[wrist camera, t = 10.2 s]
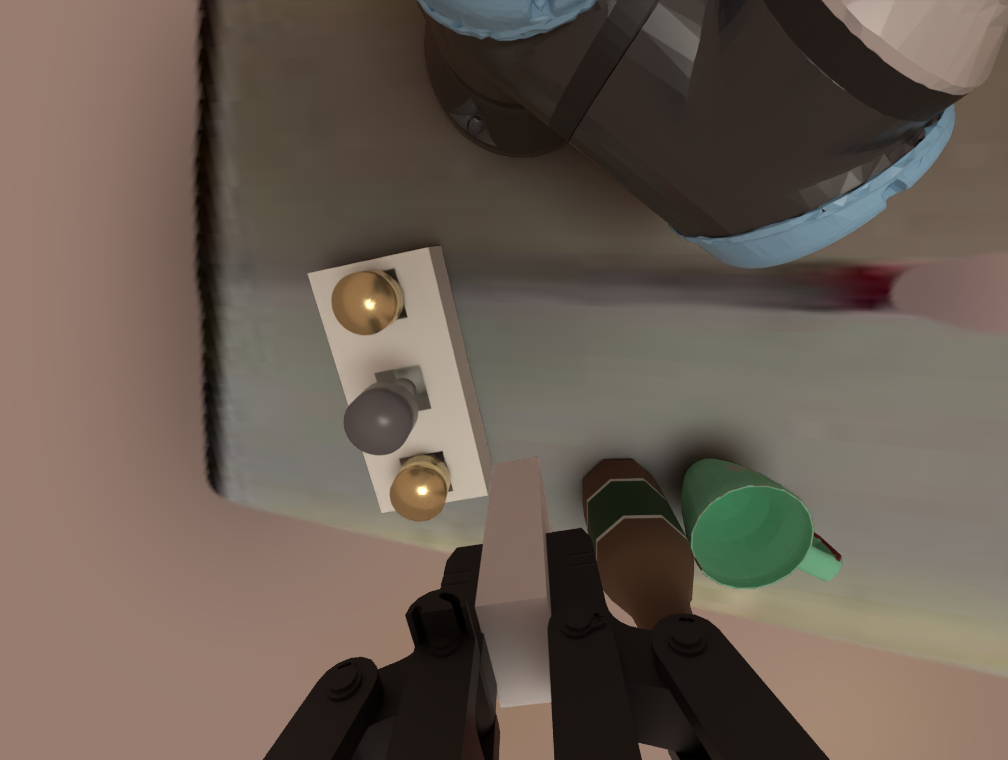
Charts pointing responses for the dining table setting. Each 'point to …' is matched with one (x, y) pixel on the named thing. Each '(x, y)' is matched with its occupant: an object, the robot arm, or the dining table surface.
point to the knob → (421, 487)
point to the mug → (750, 528)
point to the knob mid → (382, 416)
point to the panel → (414, 370)
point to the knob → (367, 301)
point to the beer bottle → (637, 543)
